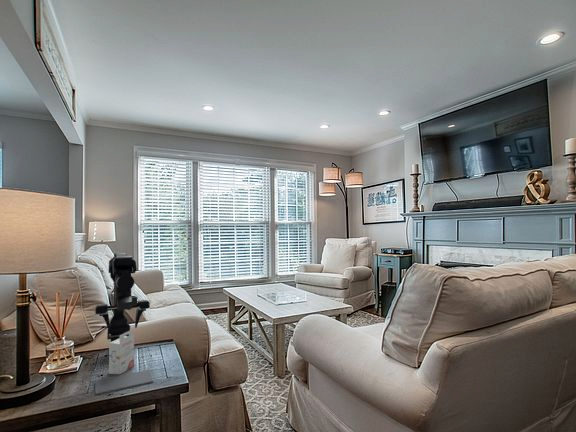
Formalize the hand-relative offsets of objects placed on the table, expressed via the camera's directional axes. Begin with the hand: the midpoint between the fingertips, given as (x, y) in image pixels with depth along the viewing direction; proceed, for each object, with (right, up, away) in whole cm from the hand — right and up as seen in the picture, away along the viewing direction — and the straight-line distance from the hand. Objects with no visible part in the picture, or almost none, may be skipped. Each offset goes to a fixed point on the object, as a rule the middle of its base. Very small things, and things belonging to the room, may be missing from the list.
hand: (122, 329), depth 128 cm
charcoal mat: (+5, -16, -9) cm, 19 cm away
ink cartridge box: (-1, -16, +1) cm, 16 cm away
